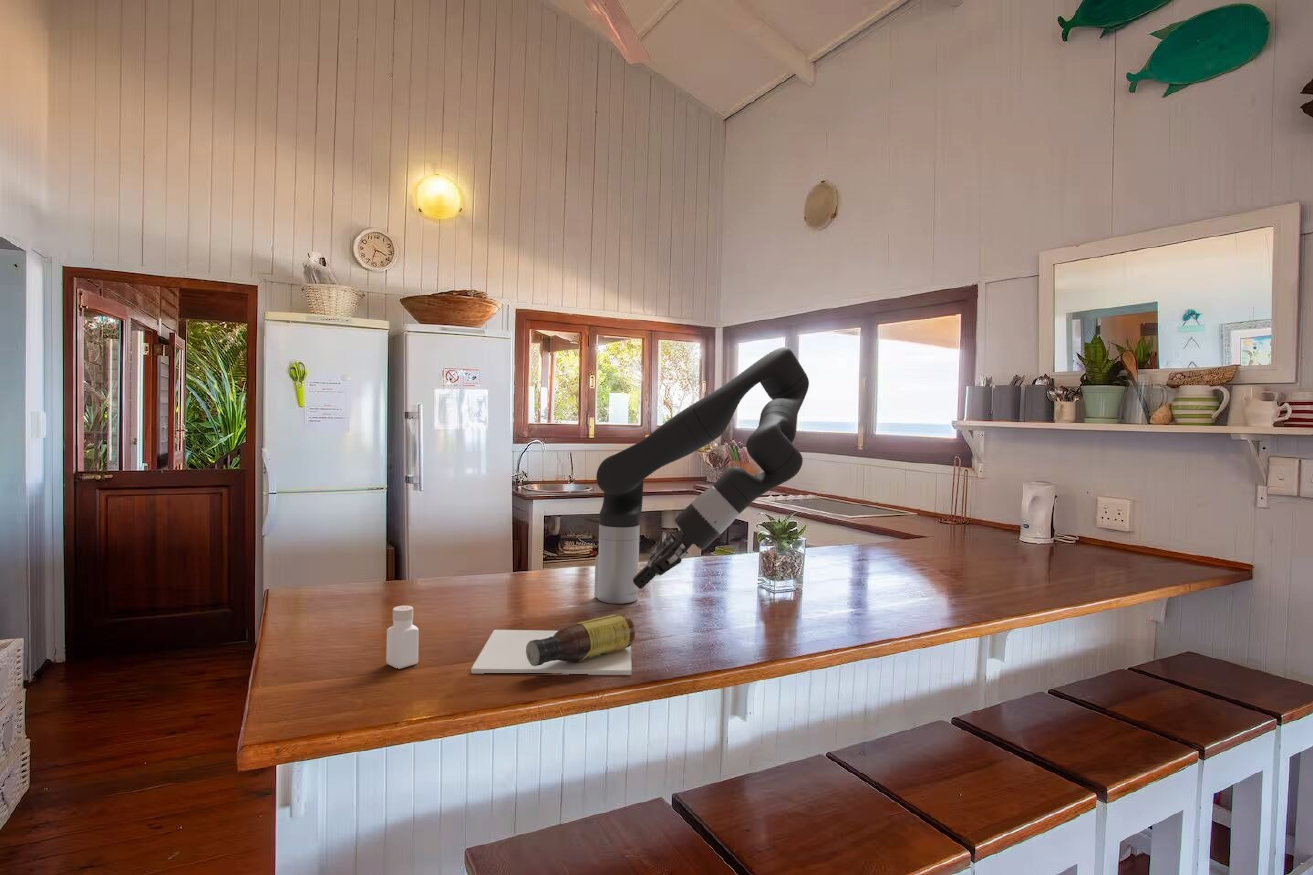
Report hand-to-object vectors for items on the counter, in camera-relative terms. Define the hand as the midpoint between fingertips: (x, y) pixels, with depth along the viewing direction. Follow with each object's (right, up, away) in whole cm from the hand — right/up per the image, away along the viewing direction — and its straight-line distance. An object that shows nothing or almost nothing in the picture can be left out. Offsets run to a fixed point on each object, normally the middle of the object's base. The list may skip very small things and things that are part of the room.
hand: (636, 584), depth 125 cm
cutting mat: (-14, -12, 0) cm, 19 cm away
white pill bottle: (-39, -12, -7) cm, 41 cm away
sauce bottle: (-2, -9, +2) cm, 9 cm away
